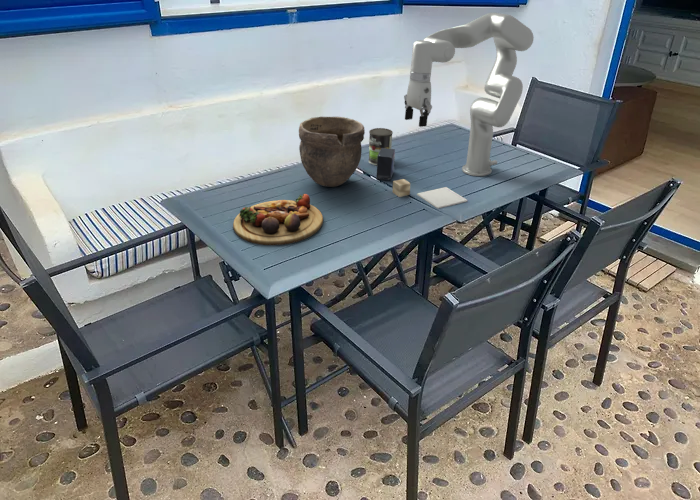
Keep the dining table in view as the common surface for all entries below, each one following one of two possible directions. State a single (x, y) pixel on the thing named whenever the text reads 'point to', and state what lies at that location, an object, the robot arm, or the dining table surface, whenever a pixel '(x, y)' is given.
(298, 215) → the wooden plate with food
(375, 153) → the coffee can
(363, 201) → the dining table surface
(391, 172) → the small box
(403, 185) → the maple cube
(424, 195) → the off-white board
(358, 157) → the clay pot
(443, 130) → the dining table surface
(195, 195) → the dining table surface
